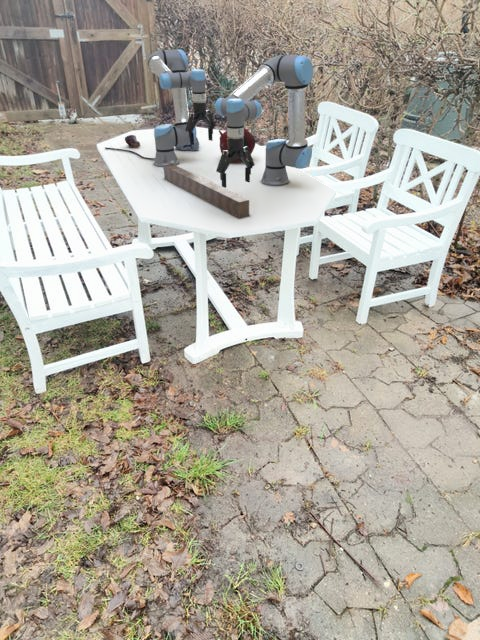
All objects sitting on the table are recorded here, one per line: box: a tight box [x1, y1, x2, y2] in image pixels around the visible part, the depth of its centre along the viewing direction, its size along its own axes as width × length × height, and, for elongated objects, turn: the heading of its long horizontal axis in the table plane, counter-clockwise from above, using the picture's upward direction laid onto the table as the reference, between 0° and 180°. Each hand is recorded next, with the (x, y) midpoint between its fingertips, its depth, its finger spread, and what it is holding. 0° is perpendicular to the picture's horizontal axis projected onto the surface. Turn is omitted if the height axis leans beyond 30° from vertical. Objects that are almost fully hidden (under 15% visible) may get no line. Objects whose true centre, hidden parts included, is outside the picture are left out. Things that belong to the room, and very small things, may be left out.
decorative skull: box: [218, 127, 257, 163], centre depth 295 cm, size 21×24×25 cm
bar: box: [163, 164, 250, 219], centre depth 241 cm, size 77×6×8 cm, turn 35°
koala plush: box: [174, 136, 200, 152], centre depth 321 cm, size 17×18×20 cm
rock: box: [124, 134, 141, 148], centre depth 329 cm, size 12×9×10 cm
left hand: (201, 142), depth 258 cm, fingers open, 13 cm apart
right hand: (235, 184), depth 214 cm, fingers open, 13 cm apart
